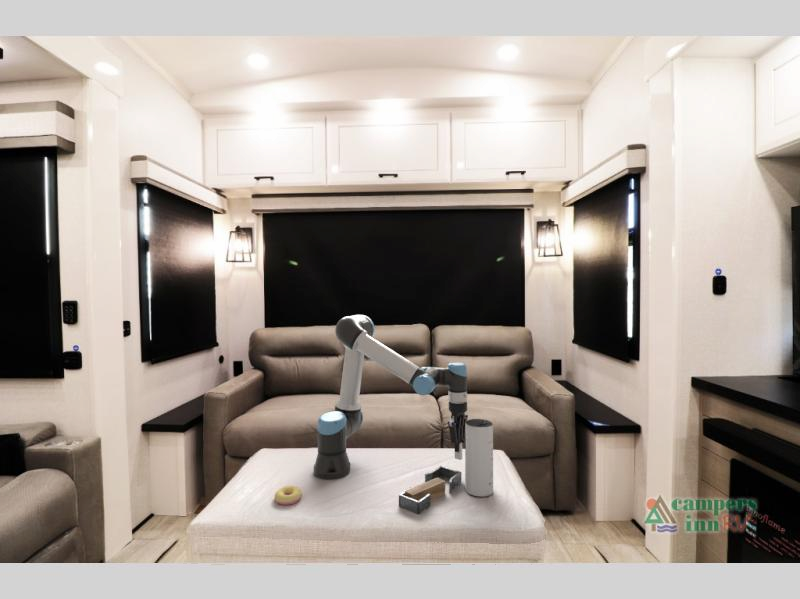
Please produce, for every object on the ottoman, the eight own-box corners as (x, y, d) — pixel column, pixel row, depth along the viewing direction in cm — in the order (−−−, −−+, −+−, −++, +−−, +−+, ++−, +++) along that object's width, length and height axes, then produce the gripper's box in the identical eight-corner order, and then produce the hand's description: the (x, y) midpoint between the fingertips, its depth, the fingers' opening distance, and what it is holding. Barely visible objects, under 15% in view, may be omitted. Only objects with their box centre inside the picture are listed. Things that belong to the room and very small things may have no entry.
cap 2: (424, 484, 158) (424, 473, 158) (438, 474, 166) (438, 465, 166) (451, 493, 151) (451, 482, 151) (463, 482, 159) (463, 472, 159)
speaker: (476, 481, 160) (475, 415, 160) (499, 490, 153) (499, 421, 153) (459, 490, 153) (459, 421, 153) (483, 500, 146) (482, 428, 145)
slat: (405, 504, 144) (405, 490, 144) (437, 490, 154) (437, 477, 154) (412, 509, 141) (412, 495, 140) (445, 494, 151) (445, 481, 151)
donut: (297, 497, 153) (272, 498, 149) (299, 483, 154) (273, 485, 150) (303, 505, 144) (276, 507, 140) (304, 491, 145) (277, 493, 141)
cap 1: (398, 506, 142) (398, 494, 142) (410, 498, 148) (410, 487, 148) (419, 514, 137) (419, 502, 137) (430, 505, 143) (430, 494, 142)
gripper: (458, 406, 158) (458, 466, 159) (473, 399, 169) (474, 455, 169) (441, 403, 163) (442, 461, 163) (457, 396, 173) (458, 451, 174)
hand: (458, 458), depth 166 cm, fingers closed
